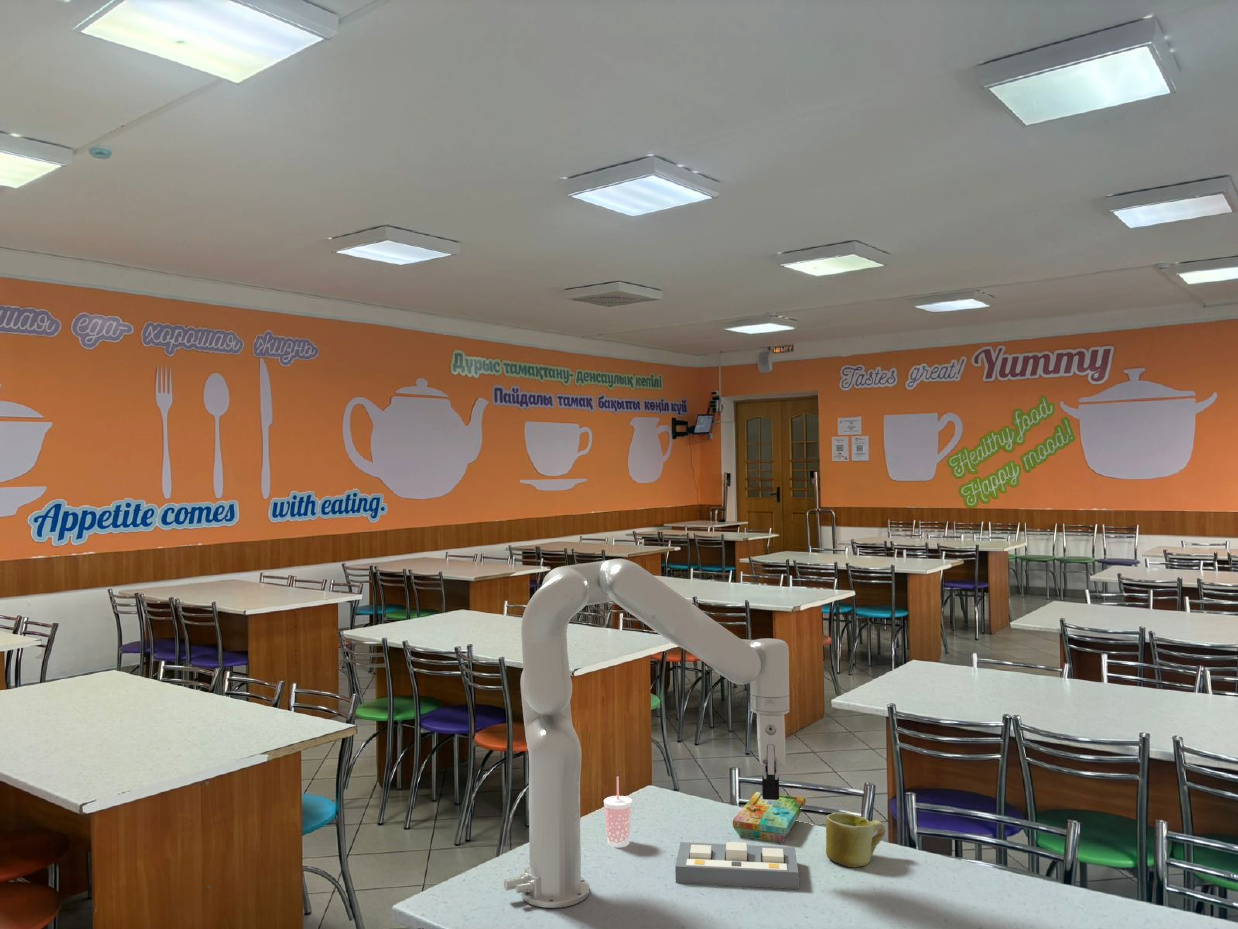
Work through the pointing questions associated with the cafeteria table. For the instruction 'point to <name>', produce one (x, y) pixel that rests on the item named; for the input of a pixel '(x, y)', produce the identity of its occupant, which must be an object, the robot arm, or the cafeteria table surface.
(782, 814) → the puzzle game
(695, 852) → the button left
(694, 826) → the cafeteria table surface
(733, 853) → the button middle
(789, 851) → the button board
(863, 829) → the mug
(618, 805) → the beverage cup
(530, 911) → the cafeteria table surface
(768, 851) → the button right
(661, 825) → the cafeteria table surface
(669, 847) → the cafeteria table surface
